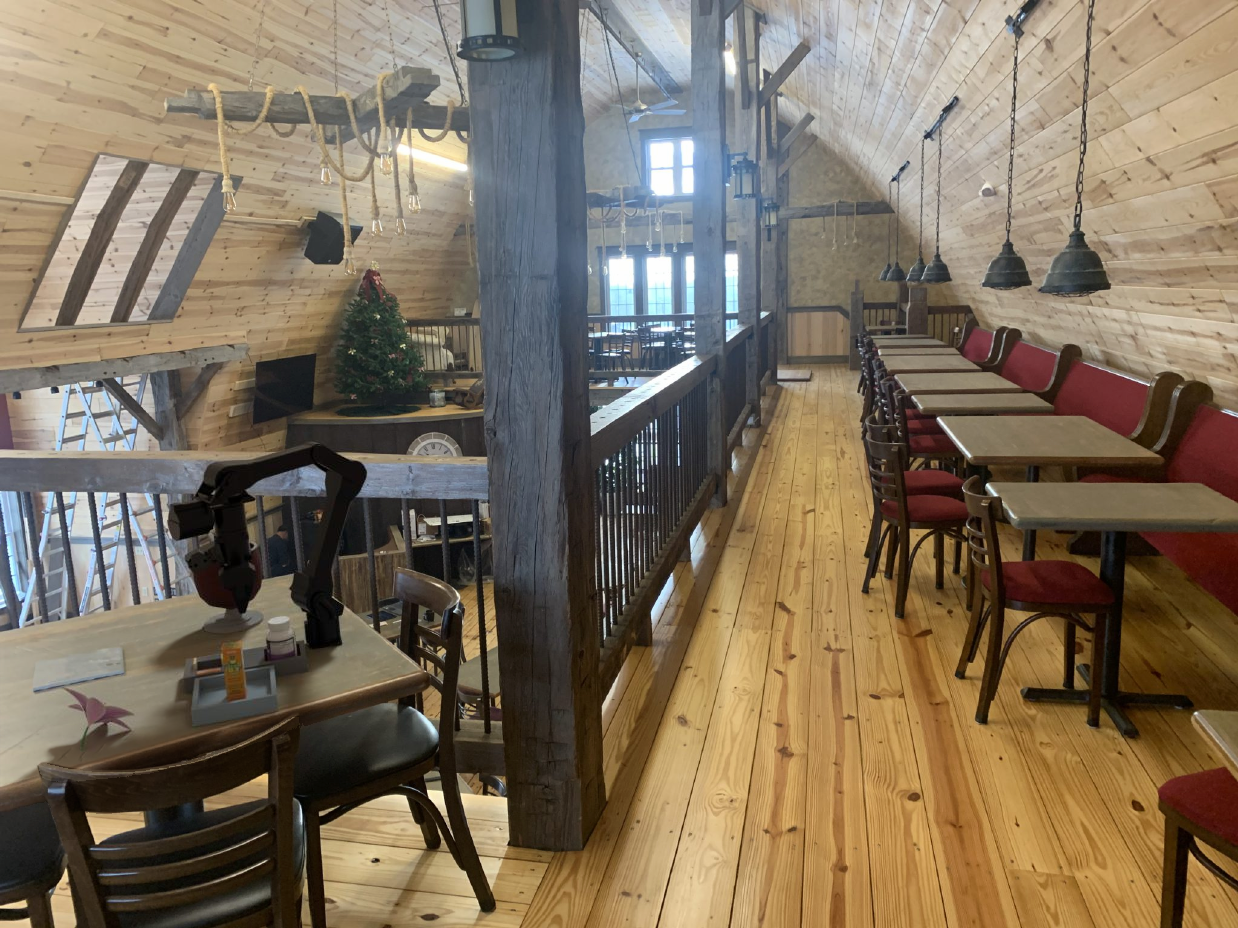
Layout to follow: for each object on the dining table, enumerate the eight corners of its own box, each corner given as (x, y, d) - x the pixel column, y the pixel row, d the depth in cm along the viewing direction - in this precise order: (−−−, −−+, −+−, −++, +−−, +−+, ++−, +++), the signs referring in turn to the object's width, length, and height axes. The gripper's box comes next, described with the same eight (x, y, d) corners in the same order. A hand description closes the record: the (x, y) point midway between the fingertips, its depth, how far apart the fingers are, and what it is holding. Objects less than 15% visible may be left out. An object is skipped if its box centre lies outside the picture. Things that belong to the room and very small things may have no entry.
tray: (275, 679, 168) (274, 664, 168) (278, 710, 156) (276, 694, 156) (196, 693, 163) (194, 678, 163) (193, 726, 151) (191, 710, 150)
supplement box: (226, 702, 157) (220, 649, 155) (228, 694, 161) (221, 642, 159) (246, 699, 159) (240, 646, 156) (247, 691, 162) (241, 639, 160)
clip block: (305, 653, 180) (303, 634, 179) (308, 671, 172) (306, 651, 171) (187, 673, 172) (185, 653, 171) (185, 693, 164) (182, 672, 163)
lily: (139, 751, 146) (151, 691, 148) (59, 749, 138) (73, 686, 141) (115, 749, 154) (127, 692, 157) (38, 747, 146) (51, 687, 149)
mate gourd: (279, 620, 198) (270, 534, 194) (218, 639, 188) (207, 549, 184) (245, 605, 208) (236, 522, 204) (185, 622, 198) (174, 536, 194)
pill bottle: (273, 661, 177) (268, 615, 175) (301, 660, 177) (296, 614, 175) (265, 673, 171) (260, 625, 169) (294, 671, 172) (289, 624, 170)
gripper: (184, 522, 174) (195, 597, 177) (183, 547, 157) (195, 630, 160) (246, 514, 178) (255, 587, 181) (251, 538, 162) (261, 618, 165)
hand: (241, 605), depth 172 cm, fingers open, 9 cm apart
